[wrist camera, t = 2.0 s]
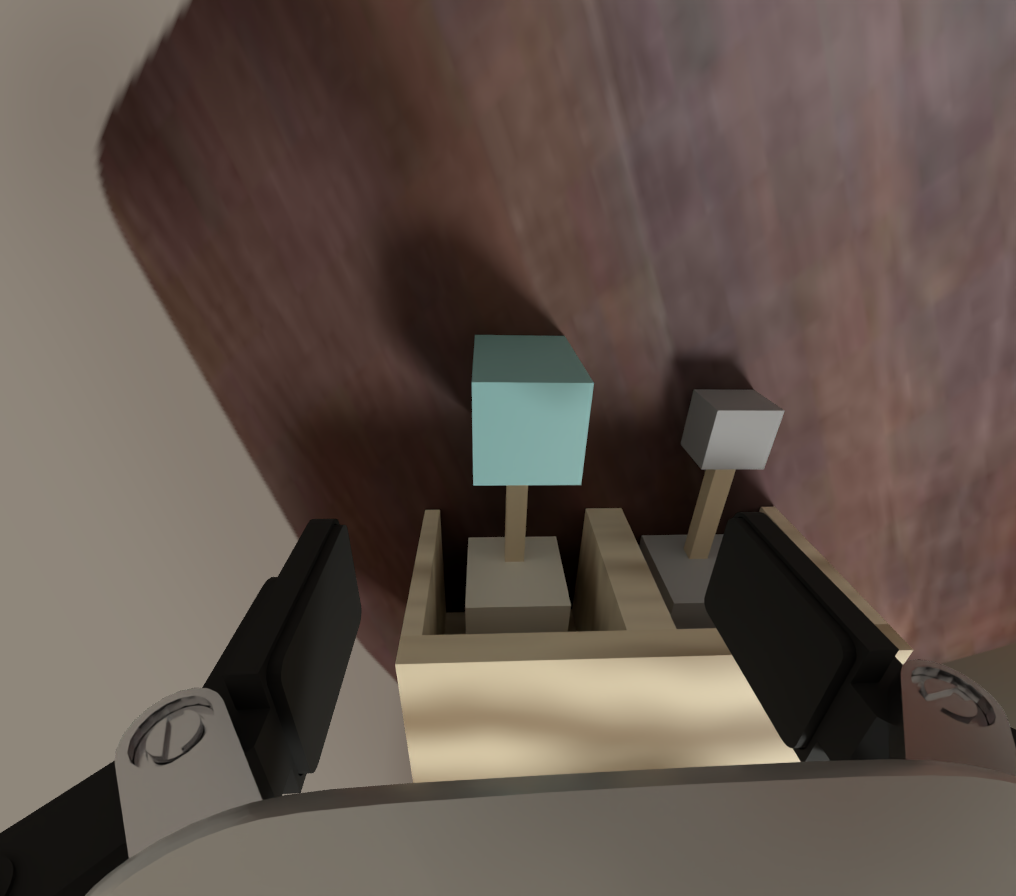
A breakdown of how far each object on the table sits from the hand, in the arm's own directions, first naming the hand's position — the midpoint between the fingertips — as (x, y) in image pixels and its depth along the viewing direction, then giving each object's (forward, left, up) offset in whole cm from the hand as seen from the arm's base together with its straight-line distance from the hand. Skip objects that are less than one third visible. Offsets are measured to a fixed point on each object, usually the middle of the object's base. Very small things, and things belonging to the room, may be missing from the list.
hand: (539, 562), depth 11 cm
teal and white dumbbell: (+6, 0, -11) cm, 13 cm away
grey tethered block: (+7, +10, -11) cm, 17 cm away
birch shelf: (+11, +5, -11) cm, 17 cm away
